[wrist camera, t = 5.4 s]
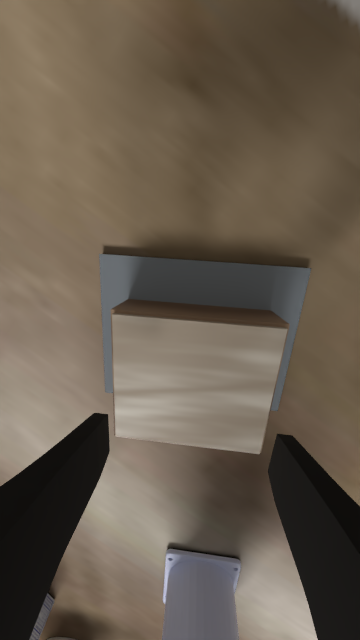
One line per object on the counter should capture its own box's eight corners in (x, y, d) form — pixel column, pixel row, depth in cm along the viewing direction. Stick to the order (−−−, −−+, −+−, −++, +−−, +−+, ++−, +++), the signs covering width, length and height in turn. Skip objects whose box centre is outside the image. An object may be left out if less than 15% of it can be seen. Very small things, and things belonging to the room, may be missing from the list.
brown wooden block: (262, 457, 14) (292, 326, 11) (112, 438, 14) (108, 310, 12) (249, 418, 17) (270, 310, 15) (128, 404, 18) (128, 298, 15)
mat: (275, 406, 17) (277, 411, 17) (107, 388, 18) (105, 392, 18) (307, 268, 14) (311, 268, 14) (102, 254, 15) (99, 254, 14)
